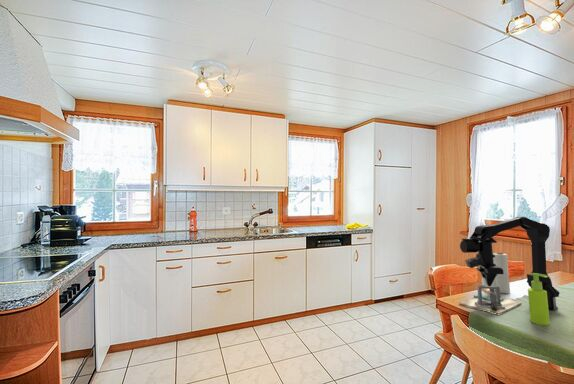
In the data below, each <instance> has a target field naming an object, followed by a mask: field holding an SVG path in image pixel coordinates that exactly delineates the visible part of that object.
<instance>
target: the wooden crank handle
mask: <svg viewBox="0 0 574 384" xmlns="http://www.w3.org/2000/svg"><path fill="white" fill-rule="evenodd" d="M481 290H482V293H483V294H484V293H485V295H489V296H490V300H491V310H494V311H497V301H496V294H495V289H481Z"/></svg>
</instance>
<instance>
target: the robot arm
mask: <svg viewBox="0 0 574 384" xmlns="http://www.w3.org/2000/svg"><path fill="white" fill-rule="evenodd" d="M518 227H520V228H521V229H522V230H525V232H526V236H527V237H528V239H529V240H530V244H531V266H532V271H531V273H539V274H544V275H547V276H549V274H548V273H547V254H546V253H547V252H546V251H547V250H546V241H548V239H549V237H550V232H551V229H550V226H549V225H548V224H546V223H542V222H539V221H536V220H533V219H530V218H529V217H526V216H515V217H513V218H509V219H506V220H503V221H501V222H497V223H493V224H484V225H477V226H476V227H475V228H474V231H473V232H472V234H471V236H470V237H469V238H462V240H461V241H460V244H459V248H460V251H461V252H462V253H463V254H464V253H465V254H467V253H468V254H469V253H470V254H471V253H476V254H475V256H474V257H471V258H466V259H465V260H464V261H465V265H466V266H467V267H468V268H470V269H473V268H475V269H476V270H477V271H478V272H479V273H480V274H481V278H482V277H486V280H487V284H488V286H491V285H492V283H493V281H494V279H495V277H496V276H497V274H504V271H503V269H502V268H500V267H498V266H496V264H494V262H493V257H495V255H493V253H494V251H493V250H494V249H493V243H494V244H497V240H495V239H494V238H493V237H496V236H497V235H498V234H499V233H501V232H505V231H508V230H512V229H514V228H515V229H516V228H518ZM476 267H477V268H476ZM531 273H530V274H529V273H527V274H526V278H527V280H526V283H527V284H528V286H529V288H532V286H531V281H533V280H534V279H533V275H531ZM539 281H540V282H542V289H543V290H545V291H547V299H548V310H549V311H551V312H552V311H555V310H557V309H558V308H559V307H558V306H557V298H559V296H560V291H559V290H557V289H556V288H555V287H554V285H553V282H552V279H551V277H550V276H549V277H546V278H545V277H542V276H539Z"/></svg>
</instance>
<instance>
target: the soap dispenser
mask: <svg viewBox="0 0 574 384" xmlns="http://www.w3.org/2000/svg"><path fill="white" fill-rule="evenodd" d="M530 274H531V275H533V279H534V280H533V281H531V286H532V288H531V287H529V288H527V294H528V305H529V306H528V307H529V318H530V322H531V323H532V324H536V325H540V326H550V324H551V323H550V310H548V299H547V291H545V290H543V289H542V282H540V281H539V276H542V277H545V278H546V277H550V276H549V275H548V276H547V275H544V274H539V273H532V272H530Z"/></svg>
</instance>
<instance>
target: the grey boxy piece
mask: <svg viewBox="0 0 574 384" xmlns="http://www.w3.org/2000/svg"><path fill="white" fill-rule="evenodd" d="M481 289H488V290H489V289H495V294H496V301H497V306H502V304H501V301H500V298H501V293H500V288H499V286H494V281H493V283H492V285H491V286H488V284H487V280H486V277H482V276H481V284H477V285H476V290H477V294H478V300H477V302H478V303H479V304H480V305H487V306H491V301H483V300H482V294H483V291H482V290H481Z"/></svg>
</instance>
